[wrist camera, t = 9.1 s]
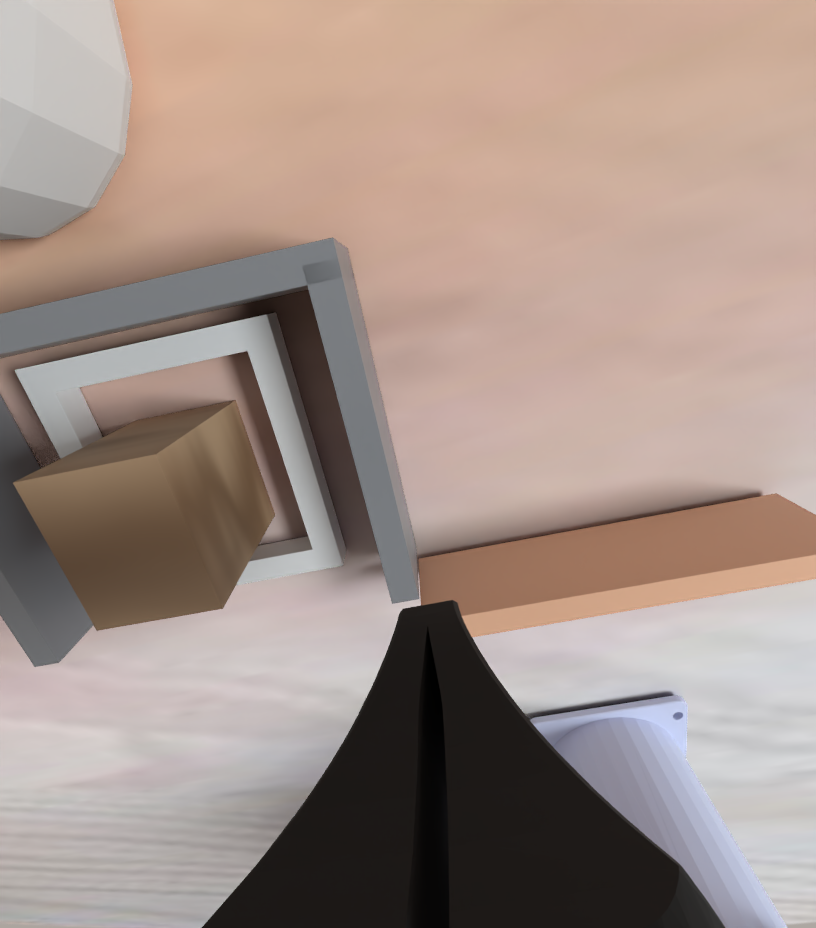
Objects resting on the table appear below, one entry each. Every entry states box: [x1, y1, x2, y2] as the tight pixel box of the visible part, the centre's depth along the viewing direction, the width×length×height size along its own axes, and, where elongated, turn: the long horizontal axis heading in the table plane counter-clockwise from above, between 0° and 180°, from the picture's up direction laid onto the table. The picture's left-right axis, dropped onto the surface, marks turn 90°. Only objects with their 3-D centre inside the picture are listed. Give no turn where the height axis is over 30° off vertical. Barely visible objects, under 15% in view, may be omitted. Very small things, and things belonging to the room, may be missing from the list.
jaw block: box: [13, 400, 275, 630], centre depth 16 cm, size 5×4×6 cm
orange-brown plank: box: [418, 493, 816, 637], centre depth 17 cm, size 1×15×4 cm, turn 102°
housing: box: [0, 238, 419, 667], centre depth 16 cm, size 12×15×4 cm
